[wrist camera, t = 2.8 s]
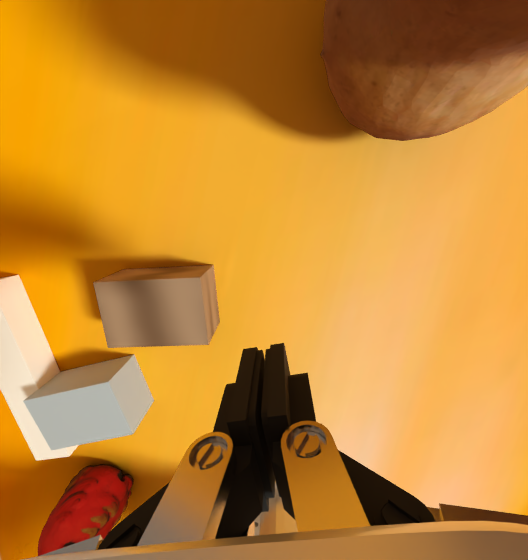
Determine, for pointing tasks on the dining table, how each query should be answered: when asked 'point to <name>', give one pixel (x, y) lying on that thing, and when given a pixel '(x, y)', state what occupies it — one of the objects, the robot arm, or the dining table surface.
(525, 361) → the dining table surface
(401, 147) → the dining table surface
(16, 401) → the stop rail
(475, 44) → the butternut squash
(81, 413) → the slate block
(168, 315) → the walnut block
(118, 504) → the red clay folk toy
